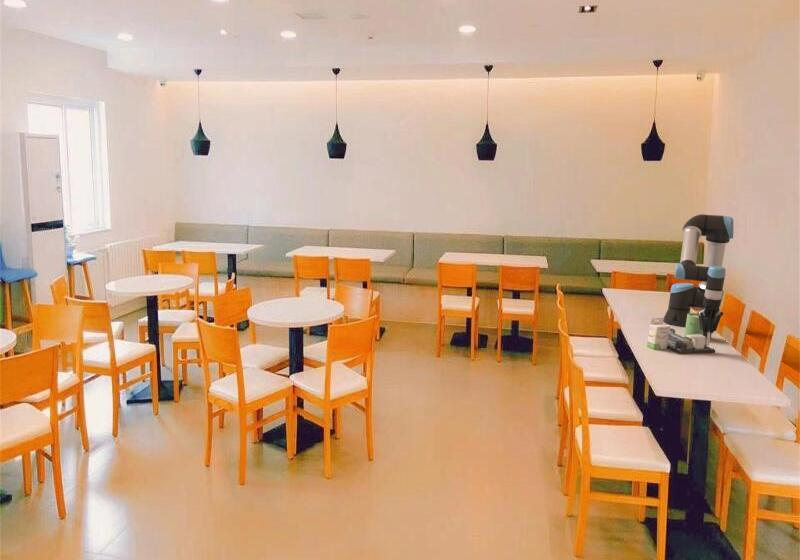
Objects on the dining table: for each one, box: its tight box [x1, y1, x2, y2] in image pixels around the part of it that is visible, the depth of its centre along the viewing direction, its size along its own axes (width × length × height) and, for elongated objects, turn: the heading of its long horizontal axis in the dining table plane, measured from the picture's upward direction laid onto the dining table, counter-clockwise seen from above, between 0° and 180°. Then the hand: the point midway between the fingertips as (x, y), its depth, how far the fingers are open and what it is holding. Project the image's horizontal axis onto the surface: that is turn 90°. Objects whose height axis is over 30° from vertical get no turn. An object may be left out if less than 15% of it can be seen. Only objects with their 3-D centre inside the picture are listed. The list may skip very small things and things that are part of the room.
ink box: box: [646, 317, 671, 350], centre depth 308 cm, size 9×5×15 cm, turn 113°
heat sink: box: [668, 337, 685, 346], centre depth 312 cm, size 8×8×3 cm
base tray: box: [666, 327, 716, 355], centre depth 313 cm, size 20×22×6 cm
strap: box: [669, 331, 694, 344], centre depth 311 cm, size 3×19×1 cm, turn 12°
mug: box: [683, 312, 705, 339], centre depth 330 cm, size 13×10×12 cm
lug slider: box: [686, 334, 705, 349], centre depth 305 cm, size 8×4×6 cm, turn 102°
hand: (705, 344), depth 307 cm, fingers closed
